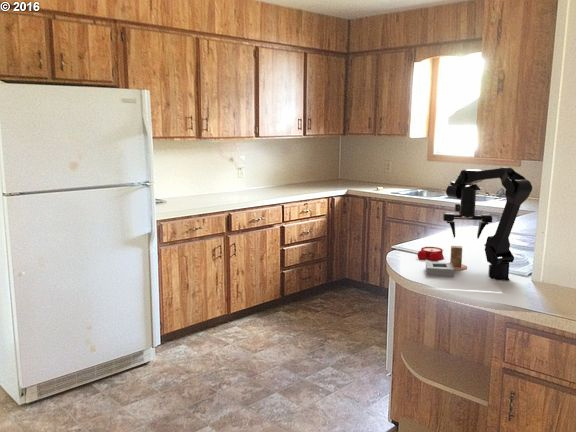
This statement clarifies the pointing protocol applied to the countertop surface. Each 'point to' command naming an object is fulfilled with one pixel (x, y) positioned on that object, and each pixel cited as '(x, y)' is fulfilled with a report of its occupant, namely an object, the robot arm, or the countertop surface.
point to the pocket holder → (439, 269)
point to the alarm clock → (430, 253)
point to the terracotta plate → (460, 267)
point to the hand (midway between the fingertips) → (466, 238)
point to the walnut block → (456, 256)
